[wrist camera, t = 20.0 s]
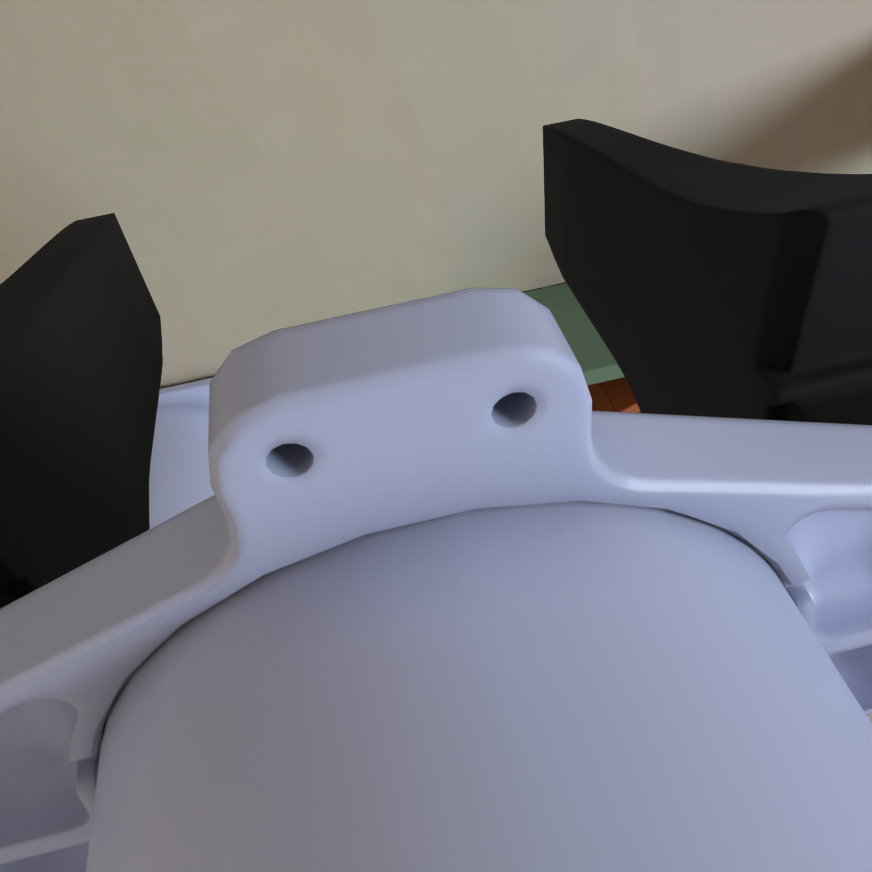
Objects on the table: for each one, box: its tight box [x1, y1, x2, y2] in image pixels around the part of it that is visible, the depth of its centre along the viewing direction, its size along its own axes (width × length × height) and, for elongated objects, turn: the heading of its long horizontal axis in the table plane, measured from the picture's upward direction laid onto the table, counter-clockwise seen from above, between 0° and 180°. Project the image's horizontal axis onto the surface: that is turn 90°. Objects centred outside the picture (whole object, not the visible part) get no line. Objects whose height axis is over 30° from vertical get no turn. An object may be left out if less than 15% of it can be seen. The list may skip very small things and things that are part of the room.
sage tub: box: [523, 283, 624, 385], centre depth 32 cm, size 13×17×5 cm
